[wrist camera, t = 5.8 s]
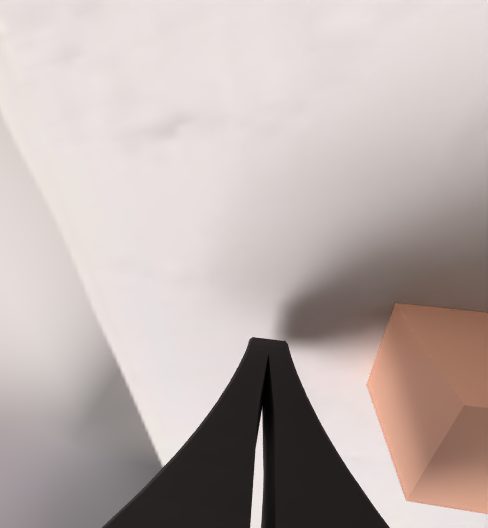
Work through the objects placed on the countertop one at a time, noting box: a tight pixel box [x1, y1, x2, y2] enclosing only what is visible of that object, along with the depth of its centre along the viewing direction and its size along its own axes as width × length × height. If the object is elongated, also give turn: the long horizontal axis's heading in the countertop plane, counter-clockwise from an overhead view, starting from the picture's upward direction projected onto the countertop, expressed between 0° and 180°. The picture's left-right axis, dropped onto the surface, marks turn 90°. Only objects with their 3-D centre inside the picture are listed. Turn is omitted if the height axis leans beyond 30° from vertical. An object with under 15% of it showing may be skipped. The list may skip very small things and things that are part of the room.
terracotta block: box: [366, 303, 488, 514], centre depth 9 cm, size 4×4×4 cm
